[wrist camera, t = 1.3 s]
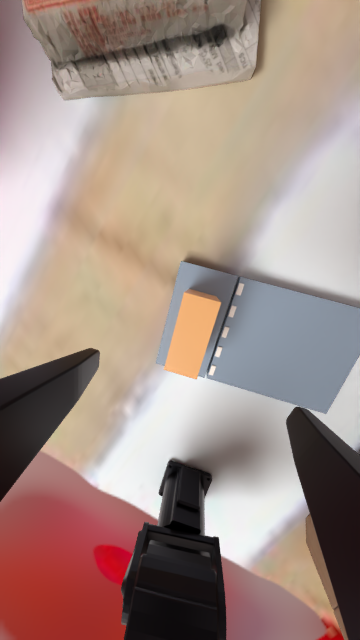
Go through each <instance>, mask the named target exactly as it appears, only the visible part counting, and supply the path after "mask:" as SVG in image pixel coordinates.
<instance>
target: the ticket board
mask: <svg viewBox="0 0 360 640" xmlns="http://www.w3.org/2000/svg"><path fill="white" fill-rule="evenodd" d="M359 355H360V308H357V307H354V306H350V305H346V304H342V303H338V302H335V301H331V300H327V299H323V298H319V297H316V296H312V295H308V294H304V293H300V292H297V291H293V290H289V289H285V288H281V287H278V286H274V285H270V284H266V283H262V282H259V281H255V280H251V279H247V278H243V277H239V278H238V281H237V284H236V287H235V290H234V293H233V296H232V299H231V302H230V305H229V308H228V311H227V314H226V317H225V320H224V323H223V326H222V329H221V332H220V335H219V338H218V341H217V344H216V347H215V350H214V353H213V356H212V359H211V362H210V365H209V368H208V371H207V378H208V379H211V380H215V381H218V382H221V383H225V384H228V385H231V386H235V387H238V388H241V389H245V390H248V391H251V392H255V393H258V394H262V395H265V396H268V397H272V398H275V399H278V400H282V401H285V402H288V403H292V404H295V405H298V406H302V407H305V408H308V409H312V410H315V411H318V412H322V413H325V414H326V413H327V412H328V410H329V408H330V406H331V405H332V403H333V401H334V399H335V398H336V396H337V394H338V392H339V391H340V389H341V387H342V385H343V383H344V382H345V380H346V378H347V376H348V375H349V373H350V371H351V369H352V368H353V366H354V364H355V362H356V361H357V359H358V357H359Z"/></svg>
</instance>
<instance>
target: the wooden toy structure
mask: <svg viewBox="0 0 360 640" xmlns="http://www.w3.org/2000/svg"><path fill="white" fill-rule="evenodd" d="M306 543H307V546H308V548H309V551H310V553H311V556H312V558H313V561H314V563H315V566H316V569H317V571H318V574H319V576H320V579H321V581H322V584H323V586H324V589H325V591H326V594H327V596H328V599H329V602H330V604H331V607H332V608H333V610H334V614H335V617H336V619H337V622H338V624H339V627H340V629H341V632H342V635H343V637H344V640H348V637H347V634H346V631H345V627H344V624H343V621H342V617H341V614H340V611H339V608H338V604H337V601H336V598H335V594H334V591H333V588H332V585H331V581H330V578H329V575H328V571H327V568H326V565H325V561H324V558H323V555H322V552H321V548H320V545H319V542H318V538H317V535H316V532H315V529H314V525H313V522H312V519H311V515H310V514H309V515H308V516H307V518H306Z"/></svg>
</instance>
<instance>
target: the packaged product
mask: <svg viewBox="0 0 360 640" xmlns="http://www.w3.org/2000/svg"><path fill="white" fill-rule="evenodd" d="M22 7H23V18H24V20H25V22H26V24H27V25H28V27H29V28H30V29H31V31H32V34H33V36H34V38H36V39H37V40H39V41H40V43H41V45H42V47H43V49H44V51H45V53H46V55H47V56H48V58H49V59H50V61H51V66H52V76H53V78H52V80H53V83H54V85H55V87H56V89H57V91H58V93H59V94H60V96H61V97H62V98H63V99H64V100H73V99H81V98H89V97H104V96H124V95H134V94H145V93H159V92H168V91H178V90H187V89H194V88H200V87H207V86H214V85H221V84H228V83H235V82H241V81H246V80H250V79H251V77H252V74H253V72H254V70H255V67H256V59H257V47H258V33H259V21H260V8H261V0H22Z"/></svg>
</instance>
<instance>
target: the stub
mask: <svg viewBox="0 0 360 640" xmlns="http://www.w3.org/2000/svg"><path fill="white" fill-rule="evenodd" d="M237 278H238V276H236V275H232V274H228V273H225V272H221V271H217V270H213V269H209V268H206V267H202V266H198V265H194V264H190V263H187V262H183V261H181V263H180V267H179V271H178V275H177V279H176V283H175V287H174V291H173V295H172V299H171V303H170V307H169V312H168V316H167V320H166V324H165V328H164V332H163V336H162V340H161V344H160V348H159V352H158V356H157V360H156V364H160V365H163V366H165V367H164V370H167V371H170V372H174V373H177V374H180V375H183V376H187V377H190V378H193V379H197V377H198V376H200V377H203V378H204V377H205V374H206V371H207V368H208V365H209V362H210V359H211V356H212V353H213V350H214V347H215V344H216V341H217V338H218V335H219V332H220V329H221V326H222V323H223V320H224V317H225V314H226V311H227V308H228V305H229V302H230V299H231V296H232V293H233V290H234V287H235V284H236V281H237Z"/></svg>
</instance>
